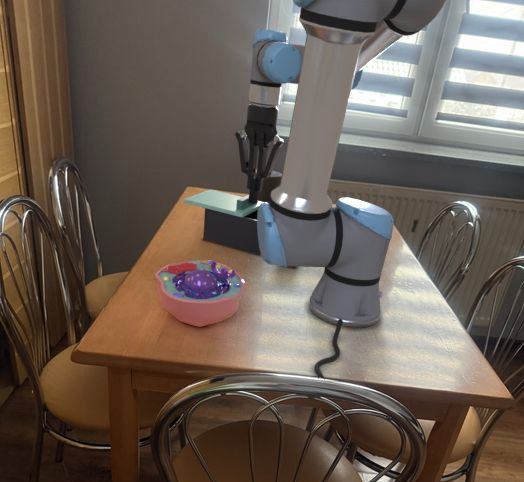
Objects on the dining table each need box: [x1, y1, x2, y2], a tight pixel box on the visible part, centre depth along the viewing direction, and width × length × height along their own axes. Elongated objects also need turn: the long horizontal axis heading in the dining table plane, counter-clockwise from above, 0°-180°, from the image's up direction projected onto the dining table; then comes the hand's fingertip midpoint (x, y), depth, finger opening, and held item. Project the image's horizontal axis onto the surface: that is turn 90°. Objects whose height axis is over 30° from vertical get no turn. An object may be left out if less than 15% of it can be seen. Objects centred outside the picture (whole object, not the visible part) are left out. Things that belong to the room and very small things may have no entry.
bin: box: [202, 208, 261, 256], centre depth 139 cm, size 14×17×9 cm
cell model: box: [154, 259, 246, 328], centre depth 97 cm, size 17×20×11 cm
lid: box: [183, 189, 264, 217], centre depth 137 cm, size 14×17×4 cm
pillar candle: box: [248, 169, 283, 203], centre depth 159 cm, size 10×10×15 cm
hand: (252, 202), depth 135 cm, fingers closed
